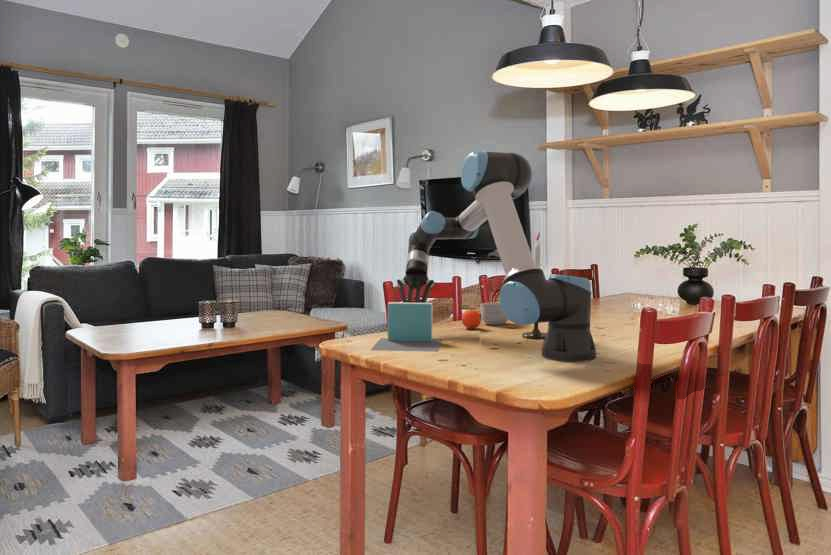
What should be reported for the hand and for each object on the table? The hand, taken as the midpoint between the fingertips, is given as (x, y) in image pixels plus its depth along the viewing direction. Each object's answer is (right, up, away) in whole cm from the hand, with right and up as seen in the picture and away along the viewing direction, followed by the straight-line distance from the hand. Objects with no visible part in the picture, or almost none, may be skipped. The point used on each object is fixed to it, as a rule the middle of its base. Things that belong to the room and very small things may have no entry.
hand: (411, 321), depth 214 cm
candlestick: (+41, -6, +5) cm, 42 cm away
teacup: (+32, -3, +32) cm, 46 cm away
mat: (-1, -7, -11) cm, 13 cm away
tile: (0, -6, -4) cm, 7 cm away
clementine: (+21, -4, +21) cm, 30 cm away
